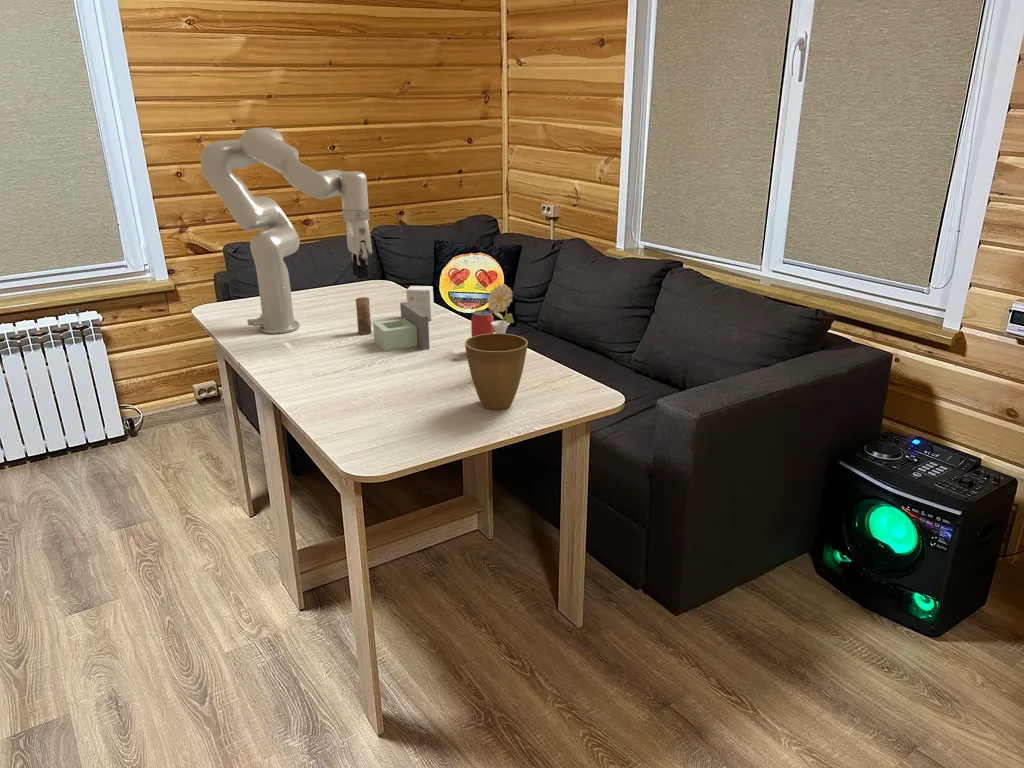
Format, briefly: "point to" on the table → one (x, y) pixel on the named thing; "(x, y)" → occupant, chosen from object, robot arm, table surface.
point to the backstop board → (417, 323)
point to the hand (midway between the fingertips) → (360, 275)
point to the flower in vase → (500, 307)
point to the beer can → (482, 322)
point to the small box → (421, 299)
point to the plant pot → (496, 367)
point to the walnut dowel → (363, 316)
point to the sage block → (395, 334)
